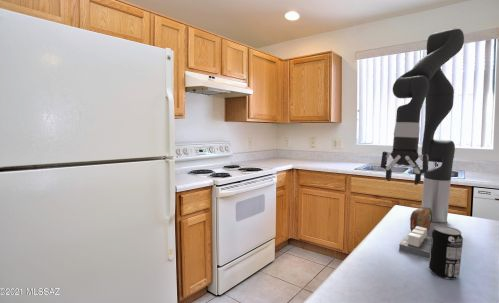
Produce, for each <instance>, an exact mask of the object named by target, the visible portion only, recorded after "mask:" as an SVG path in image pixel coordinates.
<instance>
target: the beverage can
mask: <svg viewBox="0 0 499 303" xmlns="http://www.w3.org/2000/svg"><path fill="white" fill-rule="evenodd" d="M430 238H431V249H430V259H428V260H429V263H428V268H429V270H430V271H431V273H432V274H434V275H436V276H437V277H440V278H442V279H447V280H455V279H457V278H458V277H459V276H460V271H461V270H460V269H461V264H462V263H461V261H462V252H463V243H464V242H463V240H464V238H463V236H462V231H460V230H459V229H457V228H455V227H452V226H448V225H447V226H446V225H435V226H434V228H433V230H432V231H431V237H430Z"/></svg>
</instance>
